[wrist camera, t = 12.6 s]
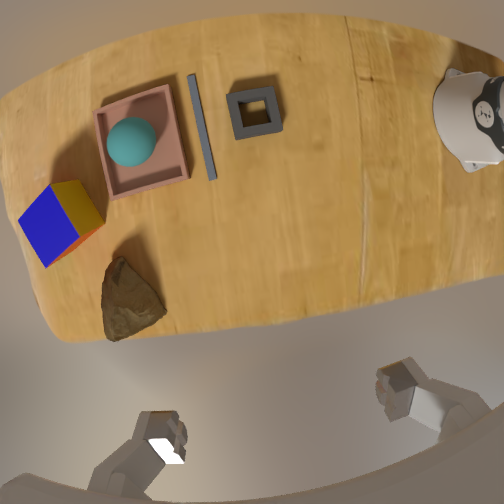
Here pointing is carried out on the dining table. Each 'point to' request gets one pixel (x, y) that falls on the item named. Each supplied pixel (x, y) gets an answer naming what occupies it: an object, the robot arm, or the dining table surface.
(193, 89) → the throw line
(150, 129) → the ball
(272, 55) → the dining table surface
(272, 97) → the grey square frame
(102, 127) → the tray
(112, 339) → the rock
